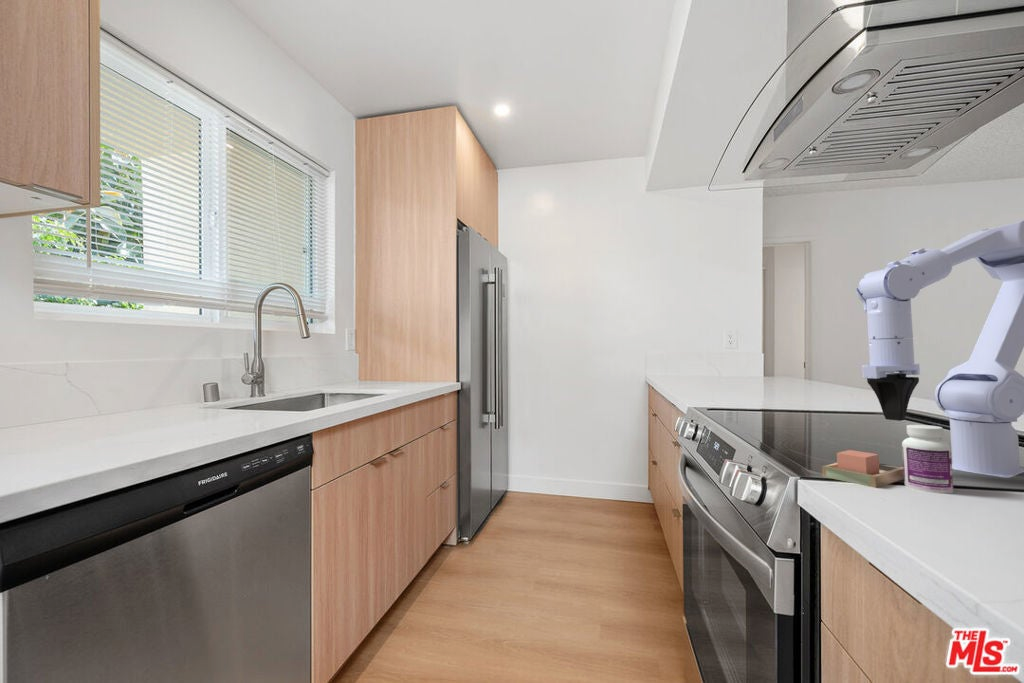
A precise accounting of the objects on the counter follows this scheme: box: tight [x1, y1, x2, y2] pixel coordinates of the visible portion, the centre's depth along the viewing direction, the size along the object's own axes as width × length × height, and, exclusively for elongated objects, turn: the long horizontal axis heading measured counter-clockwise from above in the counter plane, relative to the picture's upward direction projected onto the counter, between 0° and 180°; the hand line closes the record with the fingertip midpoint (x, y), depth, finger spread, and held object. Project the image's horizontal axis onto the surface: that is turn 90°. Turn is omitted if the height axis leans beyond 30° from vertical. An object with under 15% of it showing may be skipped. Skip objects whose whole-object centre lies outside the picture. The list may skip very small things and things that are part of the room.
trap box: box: [821, 462, 904, 489], centre depth 72 cm, size 16×7×2 cm, turn 117°
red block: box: [836, 449, 880, 475], centre depth 70 cm, size 4×4×4 cm
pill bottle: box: [901, 424, 954, 494], centre depth 65 cm, size 5×5×10 cm
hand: (894, 419), depth 73 cm, fingers closed
